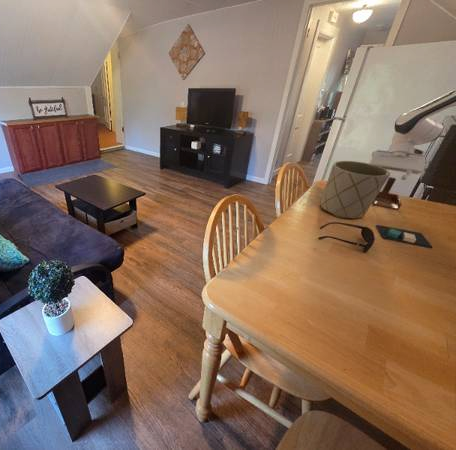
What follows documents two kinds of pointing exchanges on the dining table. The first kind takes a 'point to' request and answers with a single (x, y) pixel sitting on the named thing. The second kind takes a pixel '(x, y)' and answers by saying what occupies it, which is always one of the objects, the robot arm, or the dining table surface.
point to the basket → (388, 196)
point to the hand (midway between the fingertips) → (391, 177)
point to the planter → (352, 188)
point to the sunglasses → (365, 233)
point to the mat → (419, 238)
